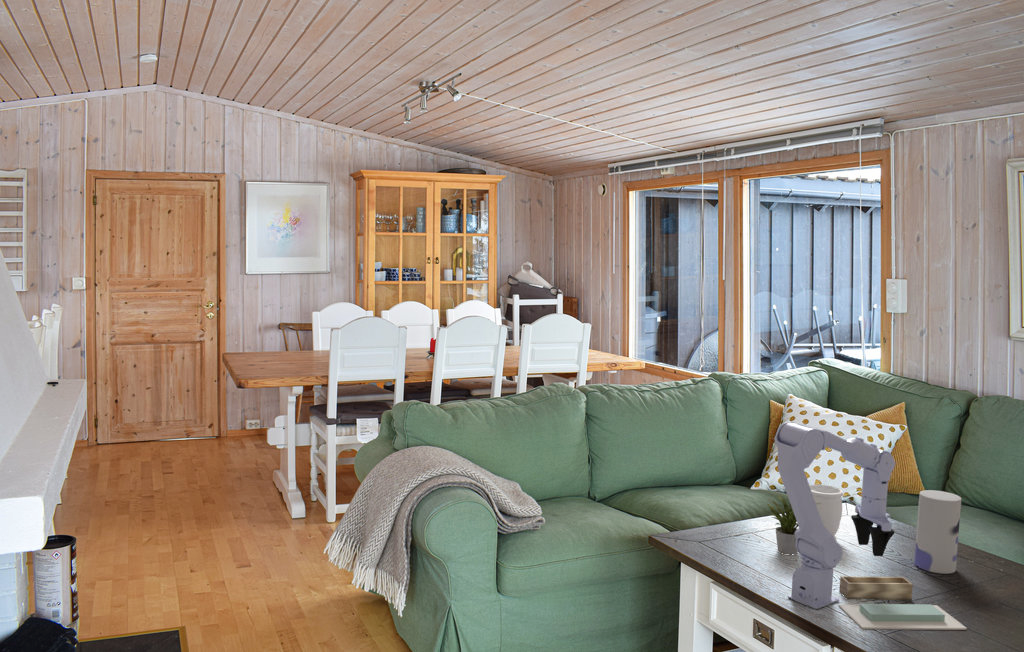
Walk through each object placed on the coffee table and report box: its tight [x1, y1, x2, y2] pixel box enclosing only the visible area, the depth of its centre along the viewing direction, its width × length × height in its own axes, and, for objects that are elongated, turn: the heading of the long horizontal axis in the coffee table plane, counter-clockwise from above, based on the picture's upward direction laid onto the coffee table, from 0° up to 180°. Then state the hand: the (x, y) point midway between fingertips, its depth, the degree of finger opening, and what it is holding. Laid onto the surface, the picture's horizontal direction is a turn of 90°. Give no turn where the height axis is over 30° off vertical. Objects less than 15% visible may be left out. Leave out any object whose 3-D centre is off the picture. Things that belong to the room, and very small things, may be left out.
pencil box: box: [839, 575, 914, 601], centre depth 203 cm, size 16×4×4 cm, turn 93°
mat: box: [838, 603, 968, 631], centre depth 191 cm, size 24×12×1 cm, turn 93°
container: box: [914, 489, 962, 574], centre depth 223 cm, size 10×10×20 cm
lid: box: [859, 603, 945, 622], centre depth 191 cm, size 17×6×2 cm, turn 93°
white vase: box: [809, 484, 844, 542], centre depth 243 cm, size 11×10×15 cm
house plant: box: [767, 494, 819, 556], centre depth 231 cm, size 14×14×16 cm
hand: (870, 550), depth 205 cm, fingers open, 7 cm apart
